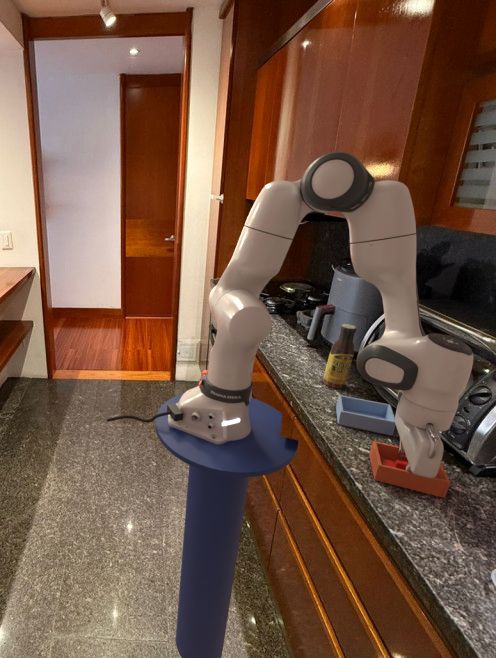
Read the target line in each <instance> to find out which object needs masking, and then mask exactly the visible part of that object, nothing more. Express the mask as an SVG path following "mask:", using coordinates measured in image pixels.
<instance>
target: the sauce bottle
mask: <svg viewBox="0 0 496 658" xmlns="http://www.w3.org/2000/svg"><path fill="white" fill-rule="evenodd" d="M339 328H340V332H339V335H338V338H337V339H336V340H334V342H333V344H332V345H331V349H330V352H329V355H328V359H327V362H326V366H325V370H324V372H323V373H324V374H323V382H322V383H323V384H324V385H325V386H326V387H330V388H333V389H342V388H344V386H345V384H346V383H347V380H348V376H349V373H350V369H351V365H352V361H353V359H354V353H355V344H354V337H355V335H356V333H357V326H355V325H353V324H348V323H343V324H341V326H340V327H339Z"/></svg>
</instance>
